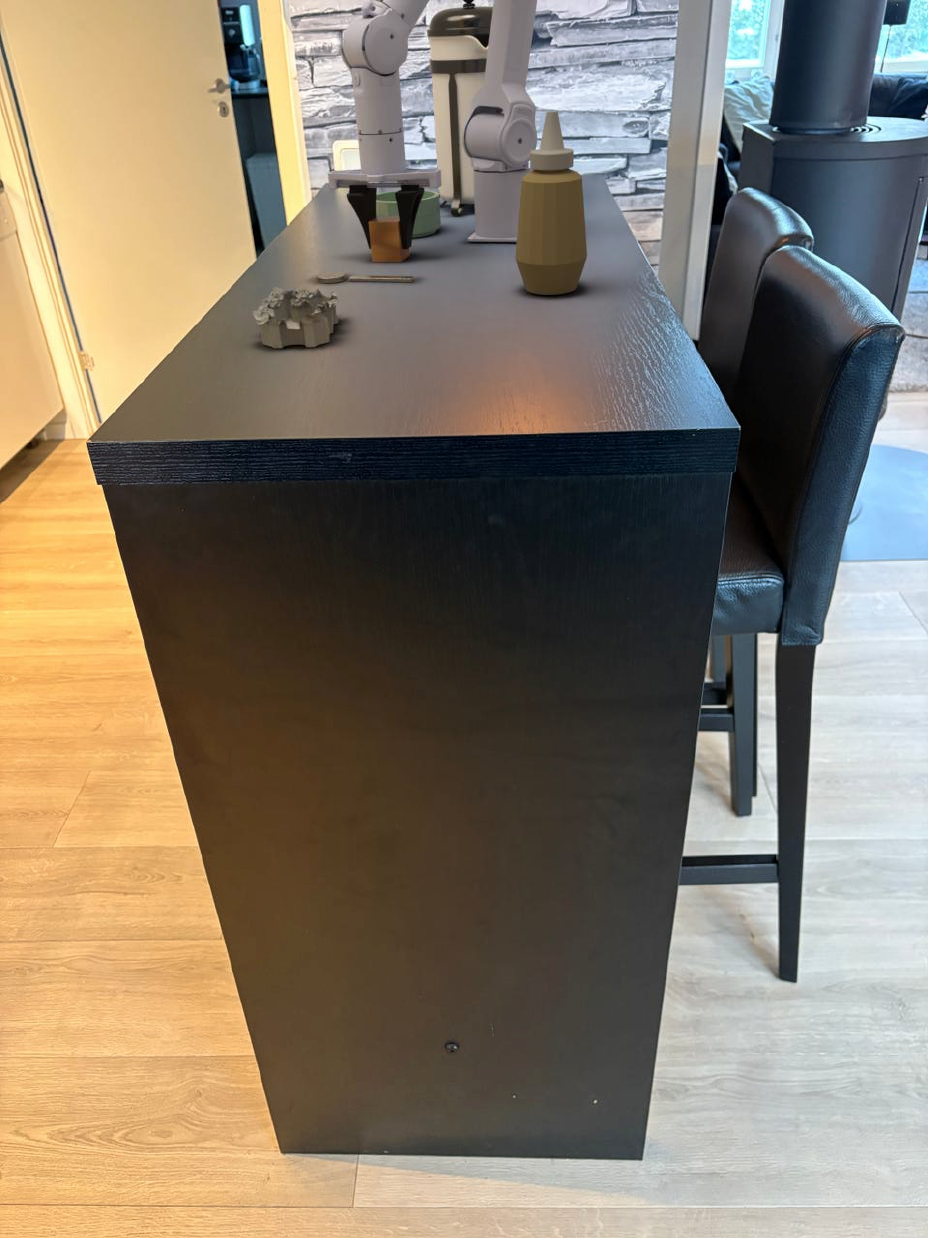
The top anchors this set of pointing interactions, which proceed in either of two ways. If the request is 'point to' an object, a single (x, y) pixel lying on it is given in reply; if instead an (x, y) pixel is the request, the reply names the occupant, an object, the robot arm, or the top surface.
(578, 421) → the top surface
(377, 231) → the block
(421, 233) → the bowl
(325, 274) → the spoon
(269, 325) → the grey succulent planter
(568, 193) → the squeeze bottle
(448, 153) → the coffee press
